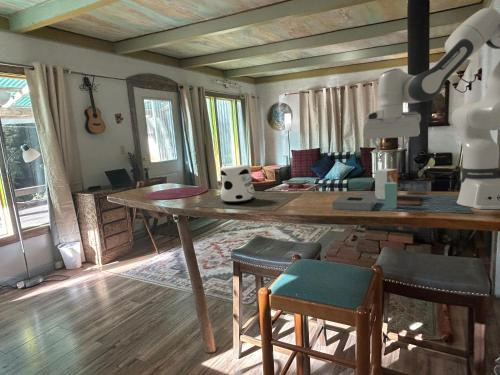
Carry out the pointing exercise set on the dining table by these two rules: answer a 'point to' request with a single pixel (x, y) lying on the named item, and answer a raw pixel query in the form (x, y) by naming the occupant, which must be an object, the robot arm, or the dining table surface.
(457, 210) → the dining table surface
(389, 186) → the peg
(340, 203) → the socket
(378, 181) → the small box
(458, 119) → the robot arm
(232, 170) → the milk container
